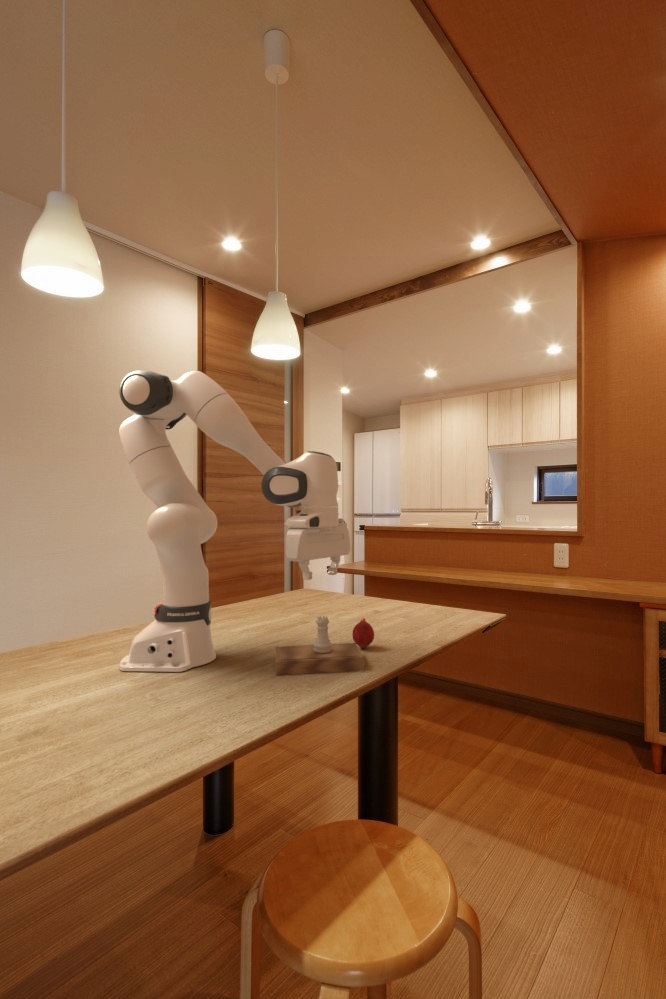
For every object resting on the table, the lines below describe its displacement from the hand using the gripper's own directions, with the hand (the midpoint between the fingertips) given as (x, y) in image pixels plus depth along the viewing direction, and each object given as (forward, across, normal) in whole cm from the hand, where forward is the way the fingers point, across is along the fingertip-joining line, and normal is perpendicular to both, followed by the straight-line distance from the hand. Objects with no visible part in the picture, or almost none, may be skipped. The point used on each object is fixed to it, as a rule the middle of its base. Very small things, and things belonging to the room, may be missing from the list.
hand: (320, 577), depth 118 cm
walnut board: (+21, +1, 0) cm, 21 cm away
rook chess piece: (+18, 0, 0) cm, 18 cm away
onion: (+21, -16, +1) cm, 27 cm away
